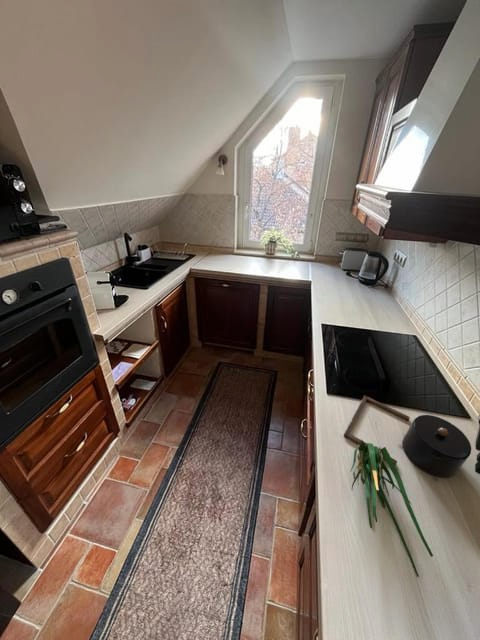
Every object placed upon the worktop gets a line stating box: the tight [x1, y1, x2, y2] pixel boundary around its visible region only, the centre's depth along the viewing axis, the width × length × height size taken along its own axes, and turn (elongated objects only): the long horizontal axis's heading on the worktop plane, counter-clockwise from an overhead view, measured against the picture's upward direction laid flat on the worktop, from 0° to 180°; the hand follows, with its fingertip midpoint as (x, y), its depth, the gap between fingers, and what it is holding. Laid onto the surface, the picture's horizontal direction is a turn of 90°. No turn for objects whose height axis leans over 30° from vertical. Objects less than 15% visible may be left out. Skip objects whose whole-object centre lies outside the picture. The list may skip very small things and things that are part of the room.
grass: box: [349, 439, 434, 578], centre depth 62 cm, size 18×15×25 cm
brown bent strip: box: [343, 395, 410, 466], centre depth 85 cm, size 15×22×1 cm
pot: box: [401, 414, 472, 479], centre depth 74 cm, size 14×16×12 cm
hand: (478, 469), depth 70 cm, fingers closed
